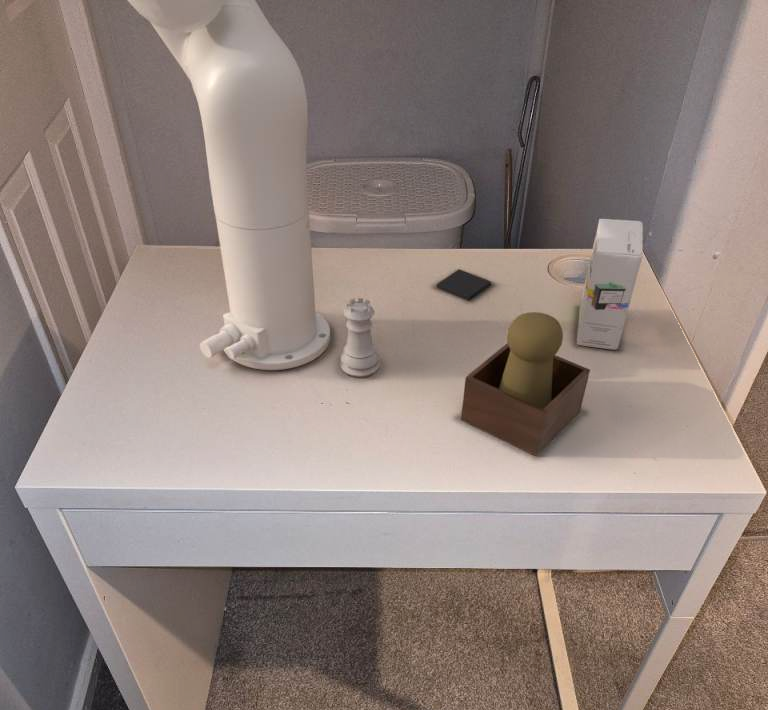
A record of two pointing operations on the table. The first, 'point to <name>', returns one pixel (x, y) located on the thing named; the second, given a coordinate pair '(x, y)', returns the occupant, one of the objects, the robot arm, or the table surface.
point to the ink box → (610, 282)
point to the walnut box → (522, 403)
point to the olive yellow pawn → (531, 357)
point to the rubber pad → (463, 284)
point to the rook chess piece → (359, 340)
